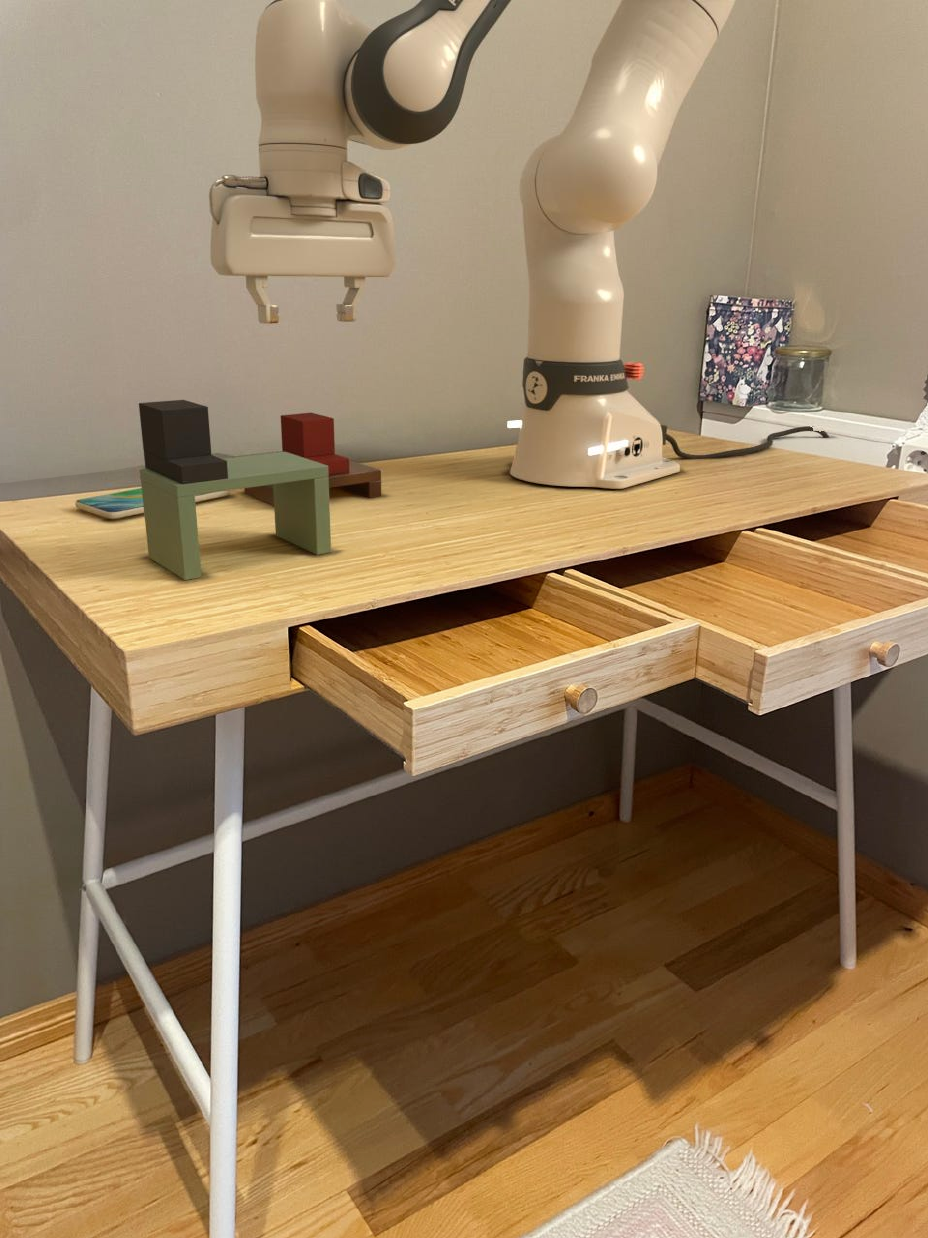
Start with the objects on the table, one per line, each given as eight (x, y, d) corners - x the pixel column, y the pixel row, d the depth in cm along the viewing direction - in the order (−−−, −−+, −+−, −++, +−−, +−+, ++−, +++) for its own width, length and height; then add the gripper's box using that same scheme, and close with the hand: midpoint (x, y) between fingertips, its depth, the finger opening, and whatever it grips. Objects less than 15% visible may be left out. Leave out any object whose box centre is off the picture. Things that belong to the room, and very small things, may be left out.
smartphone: (231, 488, 108) (110, 513, 97) (232, 496, 108) (111, 521, 97) (192, 477, 112) (71, 500, 101) (192, 485, 112) (72, 508, 101)
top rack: (289, 533, 94) (285, 451, 91) (331, 552, 88) (328, 465, 85) (148, 557, 86) (139, 468, 83) (184, 580, 80) (176, 485, 77)
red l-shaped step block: (313, 459, 113) (311, 412, 111) (349, 471, 107) (348, 421, 105) (282, 463, 110) (280, 415, 109) (318, 476, 105) (316, 424, 103)
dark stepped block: (189, 462, 86) (183, 399, 84) (228, 478, 80) (223, 411, 78) (144, 467, 83) (138, 402, 82) (182, 484, 78) (175, 415, 76)
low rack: (335, 480, 117) (335, 455, 116) (381, 496, 109) (381, 469, 108) (244, 493, 110) (242, 466, 109) (286, 510, 102) (285, 482, 101)
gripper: (222, 171, 90) (231, 326, 95) (403, 185, 102) (403, 322, 107) (194, 174, 95) (204, 322, 99) (370, 187, 106) (371, 318, 111)
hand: (308, 322), depth 103 cm, fingers open, 8 cm apart
